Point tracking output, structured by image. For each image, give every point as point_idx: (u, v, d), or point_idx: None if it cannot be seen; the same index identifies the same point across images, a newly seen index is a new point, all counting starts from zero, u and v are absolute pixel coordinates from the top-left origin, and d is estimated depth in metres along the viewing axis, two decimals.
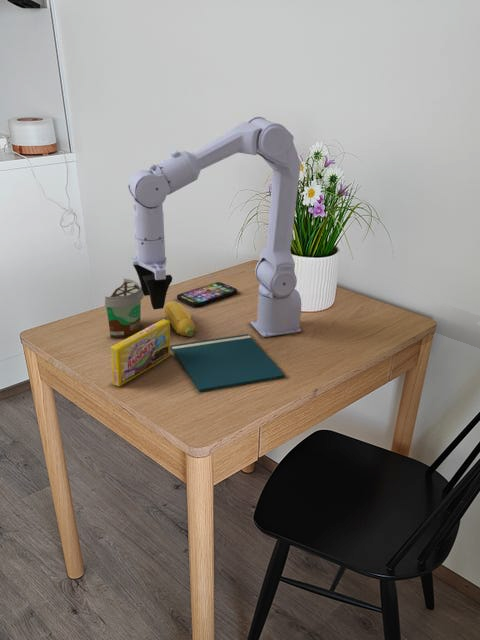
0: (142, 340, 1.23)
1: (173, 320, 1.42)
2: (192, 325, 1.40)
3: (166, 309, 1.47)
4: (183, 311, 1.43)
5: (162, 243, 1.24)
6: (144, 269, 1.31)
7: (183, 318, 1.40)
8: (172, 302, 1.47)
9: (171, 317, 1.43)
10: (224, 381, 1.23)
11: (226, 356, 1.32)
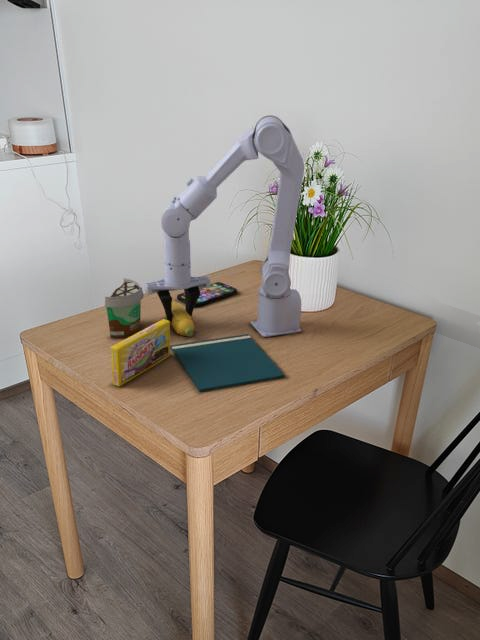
0: (142, 340, 1.23)
1: (173, 320, 1.42)
2: (192, 325, 1.40)
3: None
4: (183, 311, 1.43)
5: (171, 270, 1.36)
6: (186, 294, 1.43)
7: (183, 318, 1.40)
8: (172, 302, 1.47)
9: None
10: (224, 381, 1.23)
11: (226, 356, 1.32)
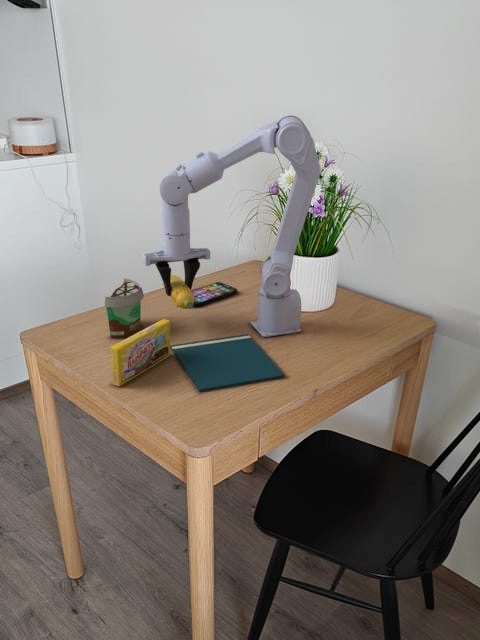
0: (142, 341, 1.23)
1: (172, 293, 1.39)
2: (191, 297, 1.36)
3: None
4: (182, 284, 1.40)
5: (170, 240, 1.32)
6: (186, 266, 1.39)
7: (182, 290, 1.36)
8: (171, 275, 1.44)
9: None
10: (224, 381, 1.23)
11: (226, 356, 1.32)
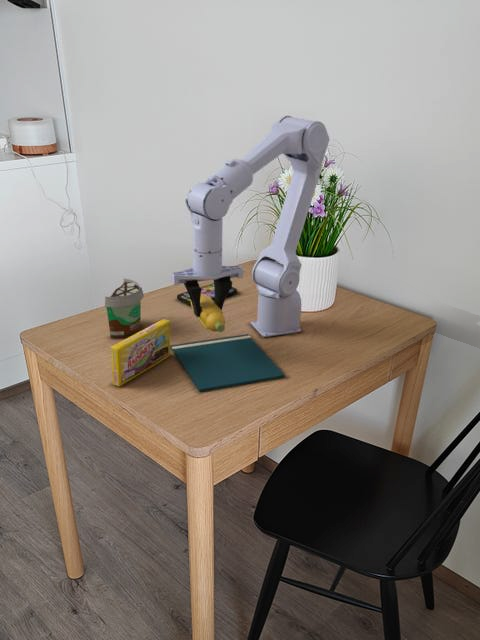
0: (142, 341, 1.23)
1: (201, 314, 1.28)
2: (223, 319, 1.26)
3: None
4: (212, 304, 1.29)
5: (201, 258, 1.22)
6: (216, 285, 1.29)
7: (213, 312, 1.26)
8: None
9: None
10: (224, 381, 1.23)
11: (226, 356, 1.32)
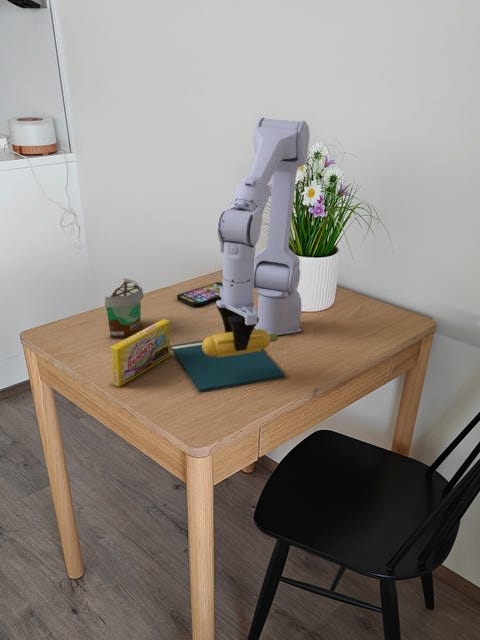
0: (142, 341, 1.23)
1: (250, 342, 1.22)
2: None
3: (221, 345, 1.20)
4: None
5: (252, 285, 1.15)
6: (230, 313, 1.21)
7: (260, 331, 1.23)
8: (213, 337, 1.20)
9: None
10: (224, 381, 1.23)
11: (226, 356, 1.32)
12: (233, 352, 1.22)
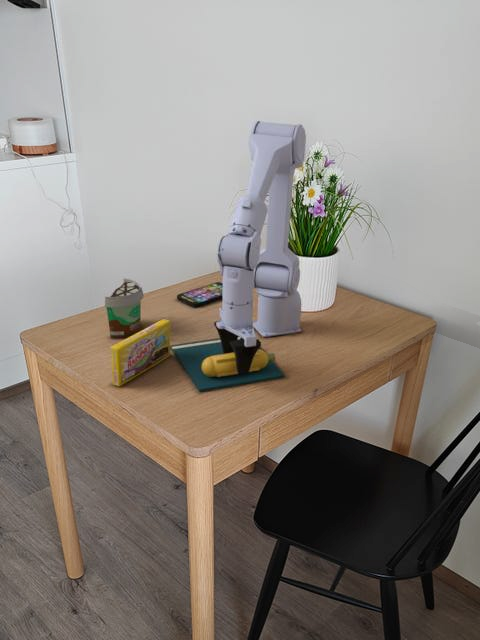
0: (142, 341, 1.23)
1: None
2: None
3: (219, 364, 1.23)
4: None
5: (251, 307, 1.18)
6: (227, 330, 1.25)
7: (257, 350, 1.26)
8: (212, 357, 1.23)
9: None
10: (224, 381, 1.23)
11: None
12: (232, 371, 1.24)
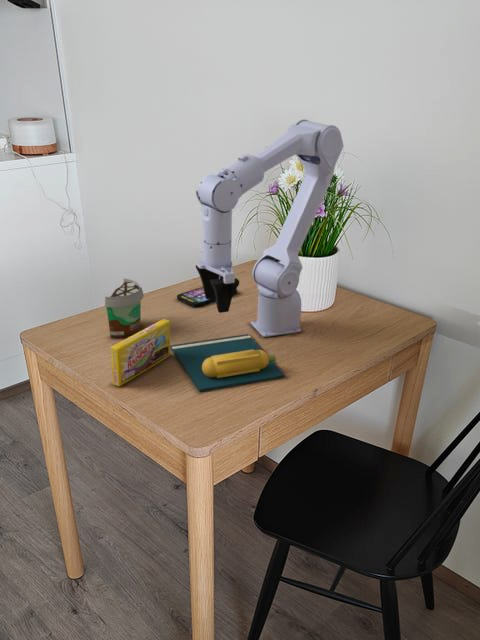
0: (142, 340, 1.23)
1: (248, 362, 1.24)
2: None
3: (220, 366, 1.23)
4: (237, 353, 1.26)
5: (229, 247, 1.25)
6: (208, 273, 1.32)
7: (258, 351, 1.26)
8: (213, 357, 1.23)
9: (241, 363, 1.24)
10: (224, 381, 1.23)
11: None
12: (232, 372, 1.24)
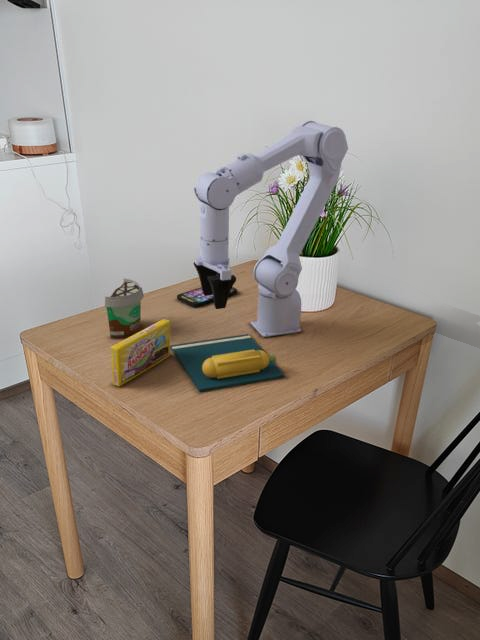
0: (142, 341, 1.23)
1: (249, 364, 1.24)
2: None
3: (220, 367, 1.22)
4: (237, 353, 1.25)
5: (227, 244, 1.27)
6: (205, 269, 1.34)
7: (258, 352, 1.26)
8: (213, 358, 1.23)
9: (241, 365, 1.24)
10: (224, 381, 1.23)
11: None
12: (233, 373, 1.24)
